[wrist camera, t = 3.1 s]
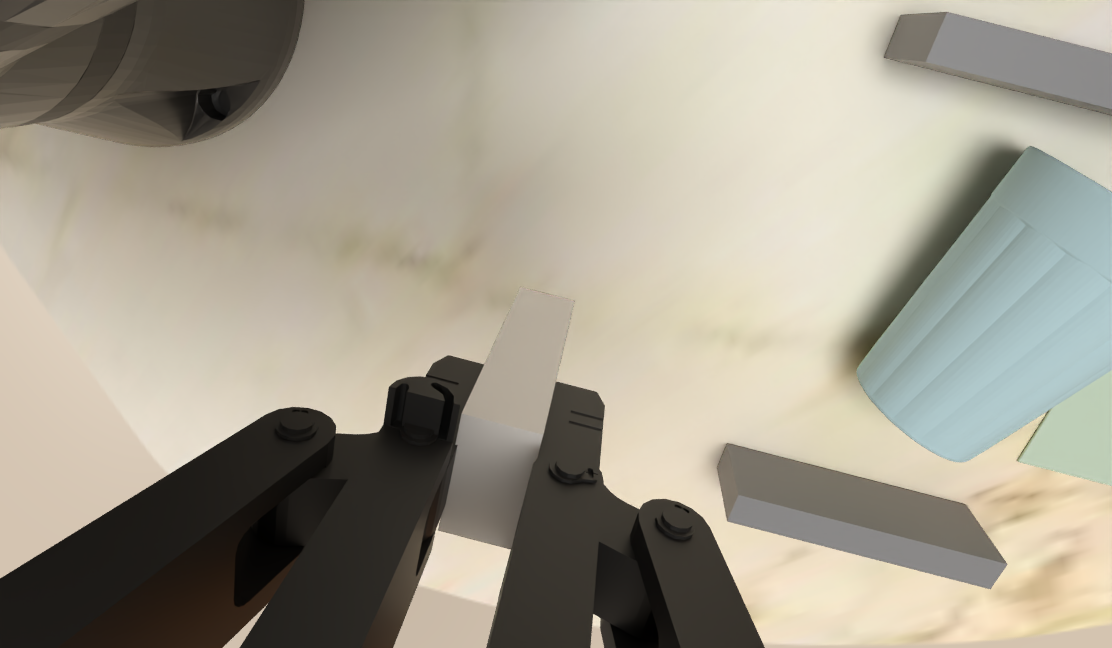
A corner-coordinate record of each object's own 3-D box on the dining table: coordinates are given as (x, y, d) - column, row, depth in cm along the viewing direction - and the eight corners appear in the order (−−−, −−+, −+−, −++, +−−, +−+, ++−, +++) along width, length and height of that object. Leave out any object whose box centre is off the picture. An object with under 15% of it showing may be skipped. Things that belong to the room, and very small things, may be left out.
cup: (922, 481, 23) (1205, 244, 18) (801, 334, 29) (994, 120, 24) (1023, 493, 27) (1279, 301, 22) (900, 362, 33) (1083, 183, 28)
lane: (717, 467, 33) (726, 521, 30) (901, 14, 25) (947, 11, 21) (951, 528, 33) (990, 589, 30) (1218, 95, 25) (1320, 106, 21)
